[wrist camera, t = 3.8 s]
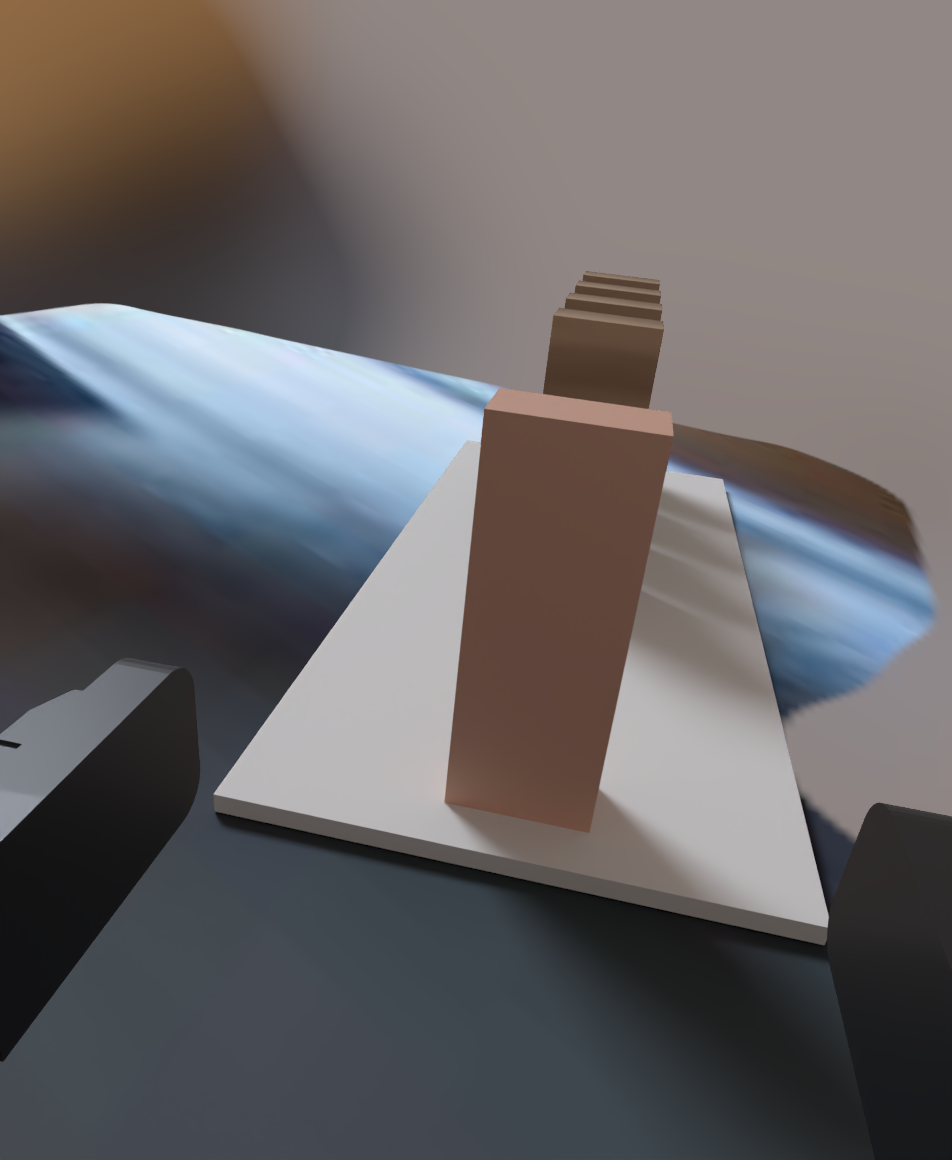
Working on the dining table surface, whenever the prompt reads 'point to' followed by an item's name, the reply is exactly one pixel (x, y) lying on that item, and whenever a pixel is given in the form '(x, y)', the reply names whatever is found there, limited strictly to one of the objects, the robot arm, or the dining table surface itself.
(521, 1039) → the dining table surface
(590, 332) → the domino
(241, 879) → the dining table surface
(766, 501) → the dining table surface
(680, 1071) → the dining table surface
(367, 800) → the mat
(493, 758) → the loose domino
